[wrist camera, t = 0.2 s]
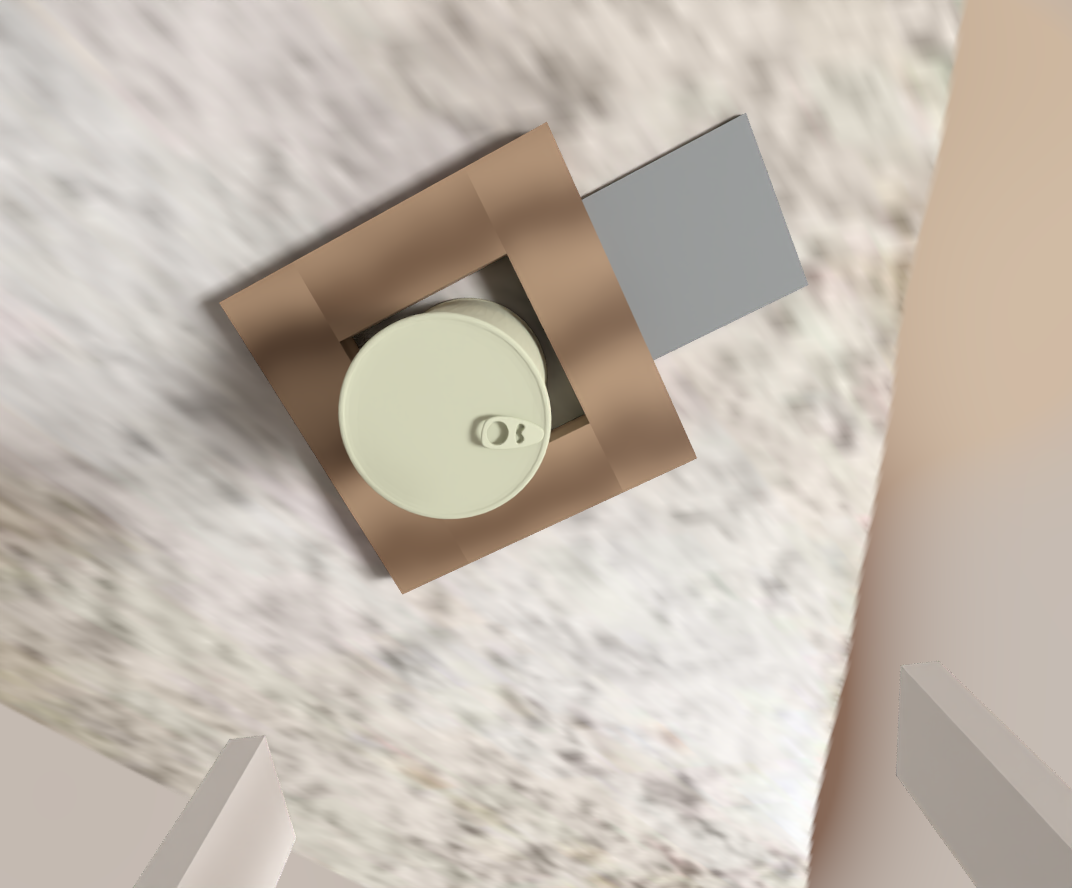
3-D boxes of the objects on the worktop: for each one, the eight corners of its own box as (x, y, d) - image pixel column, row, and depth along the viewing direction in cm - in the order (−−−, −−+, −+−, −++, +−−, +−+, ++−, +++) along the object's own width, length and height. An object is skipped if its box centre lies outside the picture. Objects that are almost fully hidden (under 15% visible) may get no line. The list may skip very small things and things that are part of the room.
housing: (240, 300, 36) (219, 302, 33) (545, 132, 33) (546, 121, 31) (410, 575, 41) (402, 594, 38) (686, 446, 38) (697, 458, 36)
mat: (577, 202, 34) (577, 201, 34) (743, 114, 33) (745, 112, 33) (648, 361, 37) (649, 362, 36) (805, 284, 36) (808, 284, 35)
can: (536, 457, 38) (536, 538, 27) (389, 438, 38) (327, 511, 27) (557, 309, 36) (568, 329, 24) (401, 287, 36) (337, 296, 24)
